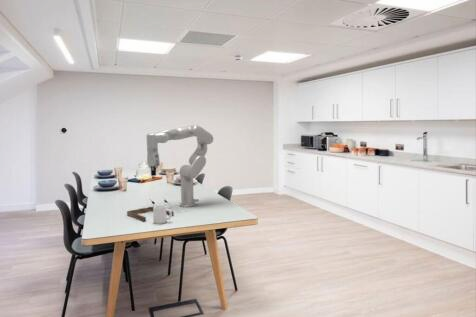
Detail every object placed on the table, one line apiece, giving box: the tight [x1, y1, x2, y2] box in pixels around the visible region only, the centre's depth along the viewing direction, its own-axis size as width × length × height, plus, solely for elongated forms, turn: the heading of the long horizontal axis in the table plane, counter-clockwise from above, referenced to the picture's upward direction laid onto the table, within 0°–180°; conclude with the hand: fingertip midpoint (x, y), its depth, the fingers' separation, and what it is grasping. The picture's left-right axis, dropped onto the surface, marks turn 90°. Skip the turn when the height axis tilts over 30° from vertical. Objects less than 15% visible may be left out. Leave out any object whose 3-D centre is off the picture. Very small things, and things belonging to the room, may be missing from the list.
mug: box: [152, 204, 173, 225], centre depth 236 cm, size 12×8×10 cm
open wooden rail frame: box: [126, 205, 174, 223], centre depth 254 cm, size 22×24×3 cm
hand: (153, 175), depth 266 cm, fingers closed
